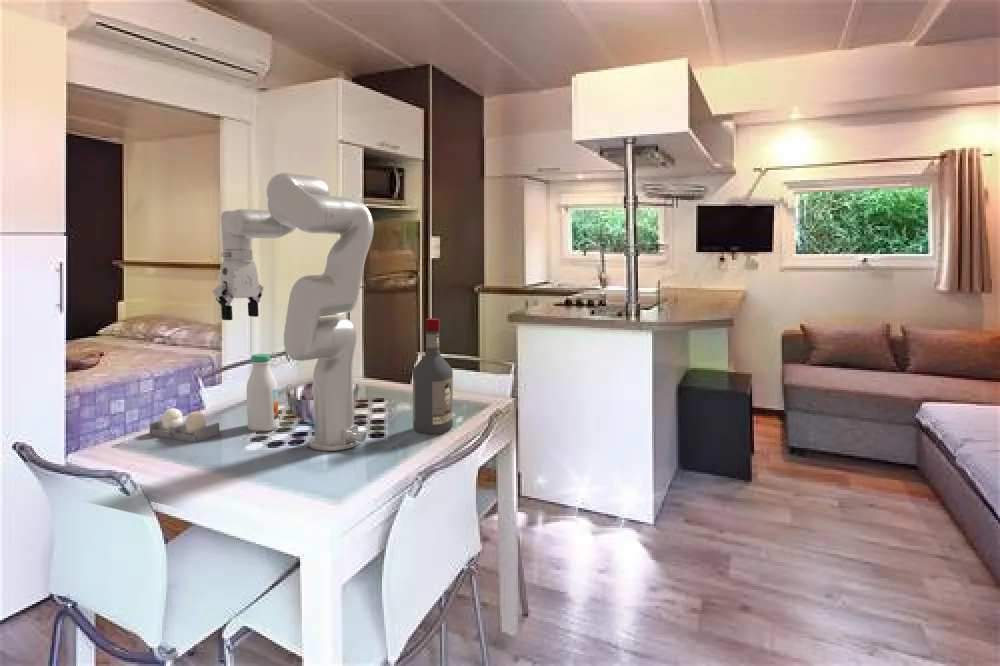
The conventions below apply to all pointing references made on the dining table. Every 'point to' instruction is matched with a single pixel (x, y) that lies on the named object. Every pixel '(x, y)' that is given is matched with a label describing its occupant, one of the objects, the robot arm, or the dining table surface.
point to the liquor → (432, 387)
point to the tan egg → (195, 422)
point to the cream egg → (171, 418)
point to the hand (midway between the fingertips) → (240, 318)
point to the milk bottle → (262, 395)
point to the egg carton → (184, 431)
